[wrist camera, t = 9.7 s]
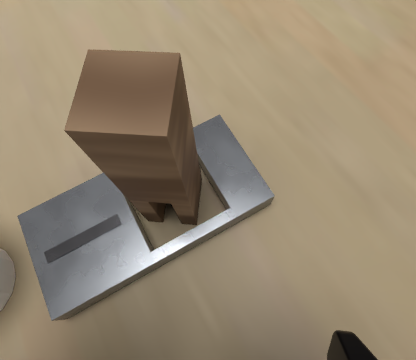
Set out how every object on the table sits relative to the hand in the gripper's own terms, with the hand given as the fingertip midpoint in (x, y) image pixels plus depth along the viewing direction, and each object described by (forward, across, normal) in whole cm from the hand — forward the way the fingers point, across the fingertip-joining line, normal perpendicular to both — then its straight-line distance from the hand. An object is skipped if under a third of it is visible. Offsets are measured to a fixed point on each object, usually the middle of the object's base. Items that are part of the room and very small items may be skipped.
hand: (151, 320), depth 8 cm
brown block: (+15, +2, +4) cm, 16 cm away
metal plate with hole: (+14, +4, +5) cm, 15 cm away
